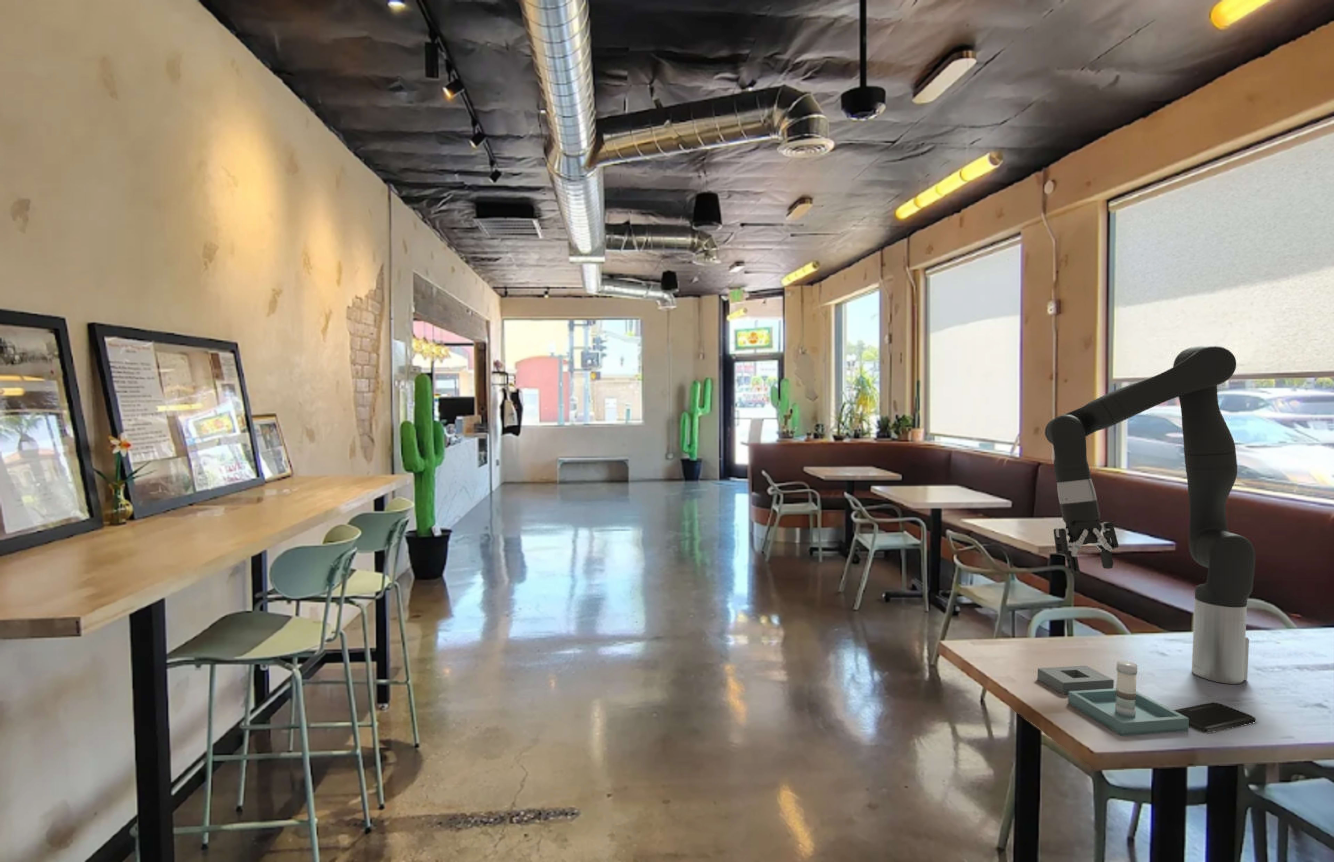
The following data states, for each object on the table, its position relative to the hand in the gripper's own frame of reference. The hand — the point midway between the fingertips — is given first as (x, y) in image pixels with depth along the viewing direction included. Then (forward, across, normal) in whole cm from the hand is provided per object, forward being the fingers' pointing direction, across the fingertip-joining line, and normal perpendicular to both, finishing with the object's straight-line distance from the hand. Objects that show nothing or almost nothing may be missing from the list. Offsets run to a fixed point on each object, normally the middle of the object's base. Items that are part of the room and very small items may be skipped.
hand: (1091, 570), depth 157 cm
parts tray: (+26, -12, -16) cm, 33 cm away
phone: (+29, +4, -19) cm, 35 cm away
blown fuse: (+26, -12, -16) cm, 33 cm away
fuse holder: (+23, -11, -1) cm, 26 cm away
